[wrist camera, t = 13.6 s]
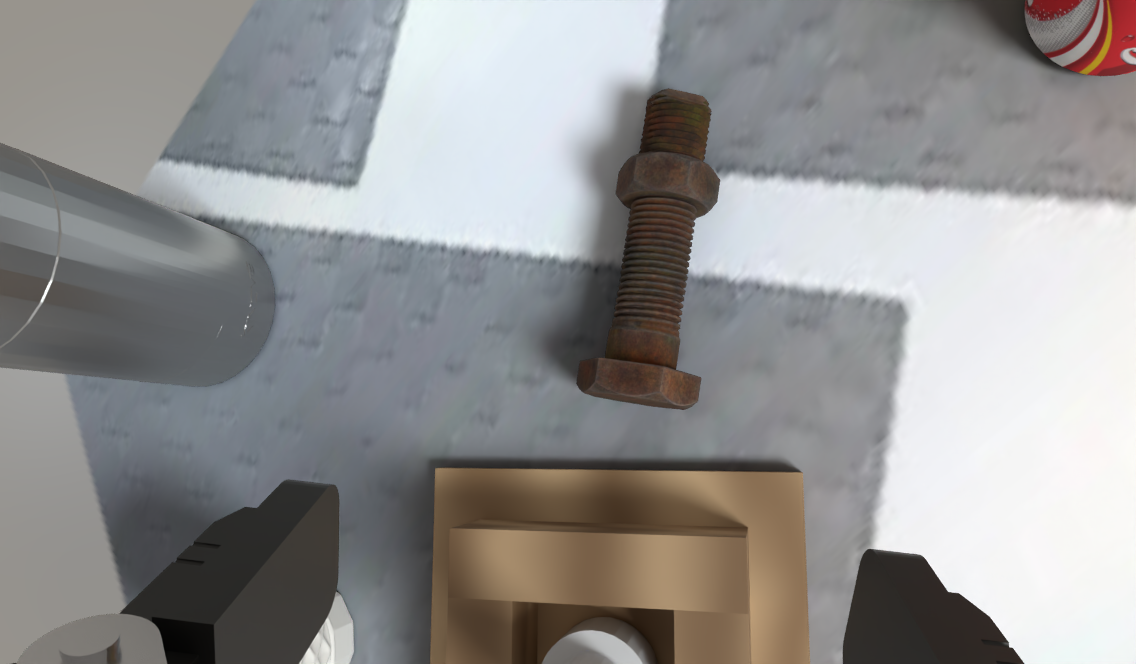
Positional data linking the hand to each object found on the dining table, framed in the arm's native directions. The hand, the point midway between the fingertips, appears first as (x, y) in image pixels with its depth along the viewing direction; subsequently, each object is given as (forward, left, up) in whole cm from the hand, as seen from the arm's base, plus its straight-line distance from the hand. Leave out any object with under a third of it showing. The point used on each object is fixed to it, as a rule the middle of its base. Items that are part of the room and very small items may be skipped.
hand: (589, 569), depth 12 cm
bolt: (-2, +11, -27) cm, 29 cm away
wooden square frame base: (-5, -8, -27) cm, 28 cm away
